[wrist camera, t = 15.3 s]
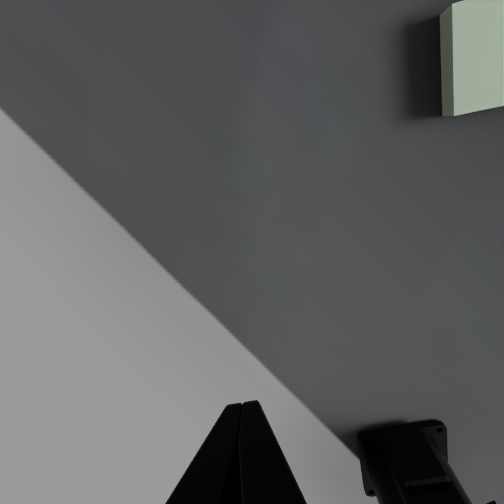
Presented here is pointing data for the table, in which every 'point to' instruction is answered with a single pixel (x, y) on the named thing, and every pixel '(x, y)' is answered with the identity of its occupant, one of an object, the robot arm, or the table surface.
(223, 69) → the table surface
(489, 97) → the head tile
